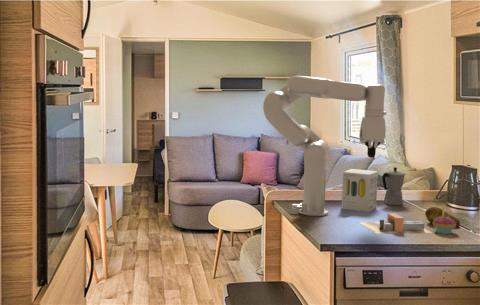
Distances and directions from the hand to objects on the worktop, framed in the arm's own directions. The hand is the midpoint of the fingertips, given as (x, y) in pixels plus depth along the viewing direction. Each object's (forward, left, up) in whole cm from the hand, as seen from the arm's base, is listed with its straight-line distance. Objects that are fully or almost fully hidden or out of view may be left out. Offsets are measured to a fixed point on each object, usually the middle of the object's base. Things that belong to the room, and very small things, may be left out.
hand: (371, 157), depth 231 cm
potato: (+24, -18, -27) cm, 40 cm away
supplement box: (+4, +20, -27) cm, 34 cm away
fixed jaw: (+3, -25, -25) cm, 36 cm away
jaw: (+5, -24, -25) cm, 35 cm away
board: (+2, -21, -27) cm, 34 cm away
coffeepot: (+25, +30, -27) cm, 47 cm away
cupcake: (+19, -29, -27) cm, 44 cm away
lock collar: (+1, -25, -25) cm, 35 cm away
